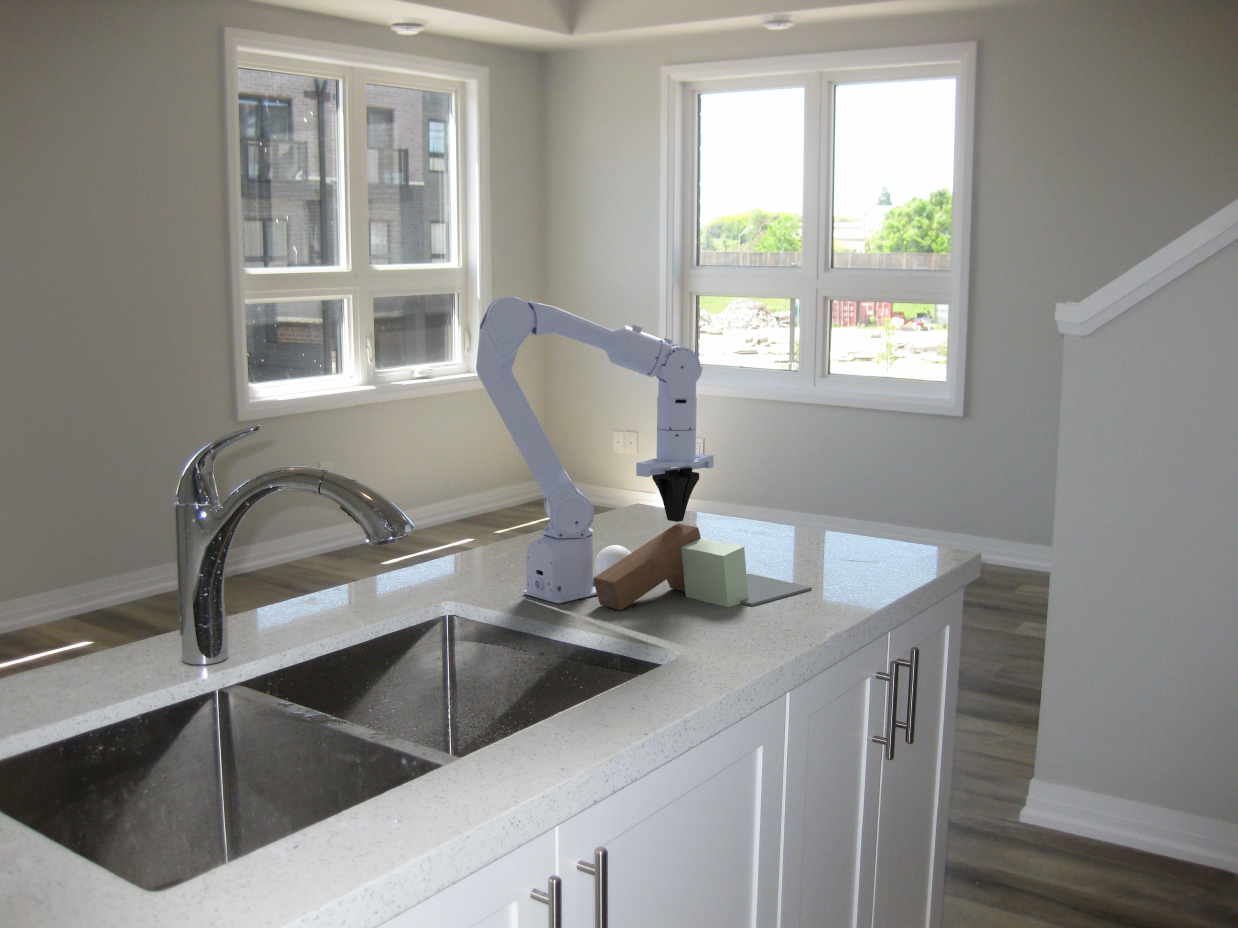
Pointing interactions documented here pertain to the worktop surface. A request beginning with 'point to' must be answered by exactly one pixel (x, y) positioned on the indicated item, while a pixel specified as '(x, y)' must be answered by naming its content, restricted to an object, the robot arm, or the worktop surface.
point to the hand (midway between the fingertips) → (675, 520)
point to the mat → (769, 589)
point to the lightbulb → (610, 557)
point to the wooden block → (646, 568)
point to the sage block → (715, 572)
